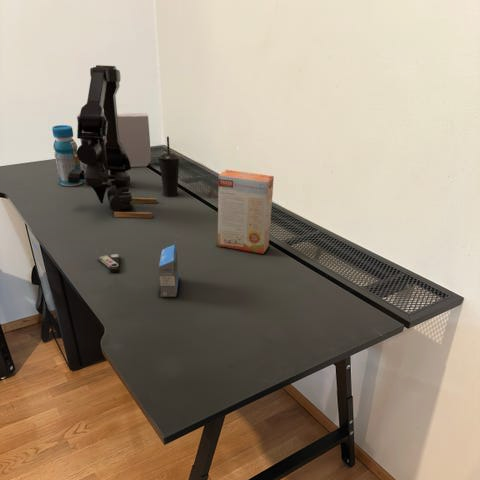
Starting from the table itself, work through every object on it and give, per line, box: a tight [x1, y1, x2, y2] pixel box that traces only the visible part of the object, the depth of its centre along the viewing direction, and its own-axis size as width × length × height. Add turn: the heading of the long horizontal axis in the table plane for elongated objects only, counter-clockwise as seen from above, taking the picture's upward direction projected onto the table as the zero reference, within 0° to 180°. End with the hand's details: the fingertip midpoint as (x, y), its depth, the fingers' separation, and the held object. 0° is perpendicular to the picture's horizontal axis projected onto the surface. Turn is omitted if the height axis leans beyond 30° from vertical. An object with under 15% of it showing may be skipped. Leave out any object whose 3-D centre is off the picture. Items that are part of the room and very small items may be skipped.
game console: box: [76, 112, 152, 169], centre depth 186 cm, size 6×27×20 cm, turn 104°
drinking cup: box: [157, 136, 181, 198], centre depth 160 cm, size 8×8×20 cm
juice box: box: [158, 234, 179, 298], centre depth 108 cm, size 9×4×12 cm, turn 3°
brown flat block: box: [113, 197, 158, 219], centre depth 152 cm, size 14×12×2 cm
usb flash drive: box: [98, 253, 120, 273], centre depth 120 cm, size 9×5×1 cm, turn 12°
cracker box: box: [217, 169, 274, 255], centre depth 126 cm, size 14×6×21 cm, turn 71°
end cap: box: [106, 185, 134, 213], centre depth 150 cm, size 10×7×7 cm
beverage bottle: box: [51, 124, 84, 187], centre depth 165 cm, size 8×8×20 cm
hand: (102, 203), depth 151 cm, fingers closed
